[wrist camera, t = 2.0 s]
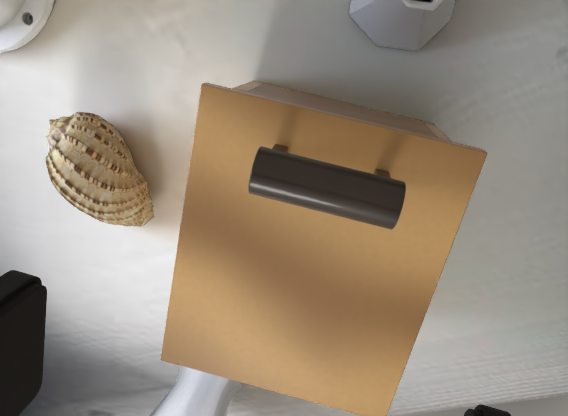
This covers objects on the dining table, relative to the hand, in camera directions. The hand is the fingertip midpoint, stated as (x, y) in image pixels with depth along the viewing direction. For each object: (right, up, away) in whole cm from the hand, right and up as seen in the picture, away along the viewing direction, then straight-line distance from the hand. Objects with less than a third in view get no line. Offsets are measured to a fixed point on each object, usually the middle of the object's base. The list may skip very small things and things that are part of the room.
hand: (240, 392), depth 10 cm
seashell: (-13, +7, +29) cm, 33 cm away
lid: (+2, +1, +15) cm, 16 cm away
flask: (+9, +19, +22) cm, 30 cm away
